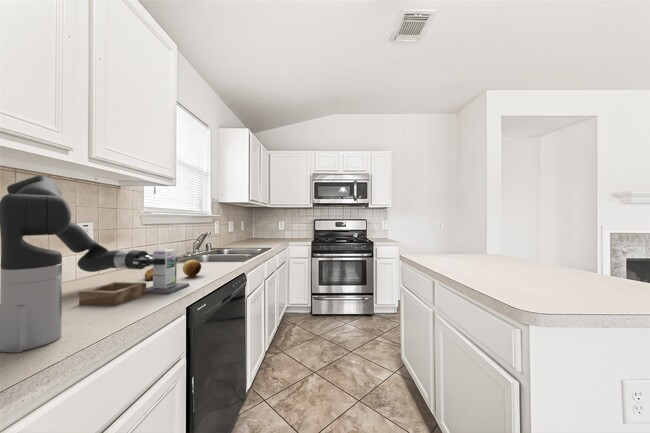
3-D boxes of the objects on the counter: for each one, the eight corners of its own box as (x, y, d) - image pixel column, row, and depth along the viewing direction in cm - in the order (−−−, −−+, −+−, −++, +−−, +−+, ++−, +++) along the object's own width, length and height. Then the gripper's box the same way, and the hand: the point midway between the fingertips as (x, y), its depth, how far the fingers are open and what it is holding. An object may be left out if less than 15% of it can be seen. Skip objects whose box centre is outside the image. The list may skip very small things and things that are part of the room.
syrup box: (165, 289, 99) (166, 250, 99) (152, 288, 100) (152, 250, 100) (176, 285, 105) (177, 249, 105) (163, 284, 106) (164, 248, 106)
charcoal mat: (169, 294, 96) (169, 291, 96) (139, 293, 98) (139, 290, 98) (189, 285, 108) (189, 283, 108) (162, 284, 109) (162, 282, 109)
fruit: (203, 274, 129) (203, 258, 130) (196, 278, 121) (196, 261, 121) (187, 274, 129) (187, 258, 129) (179, 278, 121) (179, 261, 121)
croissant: (156, 281, 117) (157, 270, 117) (139, 282, 115) (139, 271, 115) (165, 275, 130) (165, 264, 130) (149, 275, 128) (149, 265, 128)
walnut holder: (115, 305, 84) (115, 292, 84) (79, 304, 85) (79, 291, 85) (146, 293, 97) (146, 283, 97) (114, 292, 98) (114, 282, 98)
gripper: (115, 252, 97) (157, 253, 96) (145, 248, 111) (182, 248, 110) (115, 272, 97) (157, 273, 96) (145, 265, 111) (182, 266, 110)
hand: (171, 260), depth 103 cm, fingers open, 6 cm apart
